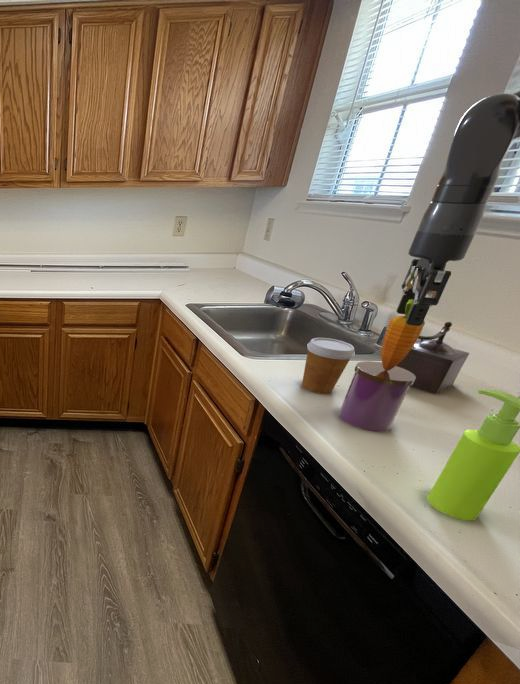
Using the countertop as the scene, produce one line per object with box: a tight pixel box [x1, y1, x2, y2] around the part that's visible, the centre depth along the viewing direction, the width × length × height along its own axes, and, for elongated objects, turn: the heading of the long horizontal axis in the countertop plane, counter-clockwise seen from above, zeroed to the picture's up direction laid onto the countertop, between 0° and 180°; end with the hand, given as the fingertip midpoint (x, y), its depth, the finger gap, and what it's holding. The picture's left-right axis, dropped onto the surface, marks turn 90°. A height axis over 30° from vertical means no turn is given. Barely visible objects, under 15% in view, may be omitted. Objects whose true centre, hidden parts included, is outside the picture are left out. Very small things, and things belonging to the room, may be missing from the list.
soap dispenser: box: [426, 388, 520, 521], centre depth 63 cm, size 6×7×20 cm
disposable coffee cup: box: [301, 337, 356, 395], centre depth 102 cm, size 10×10×12 cm
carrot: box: [380, 299, 424, 371], centre depth 82 cm, size 5×5×15 cm
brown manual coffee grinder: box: [396, 320, 470, 395], centre depth 103 cm, size 16×11×18 cm
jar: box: [338, 360, 416, 433], centre depth 88 cm, size 10×10×12 cm
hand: (407, 318), depth 80 cm, fingers open, 7 cm apart
